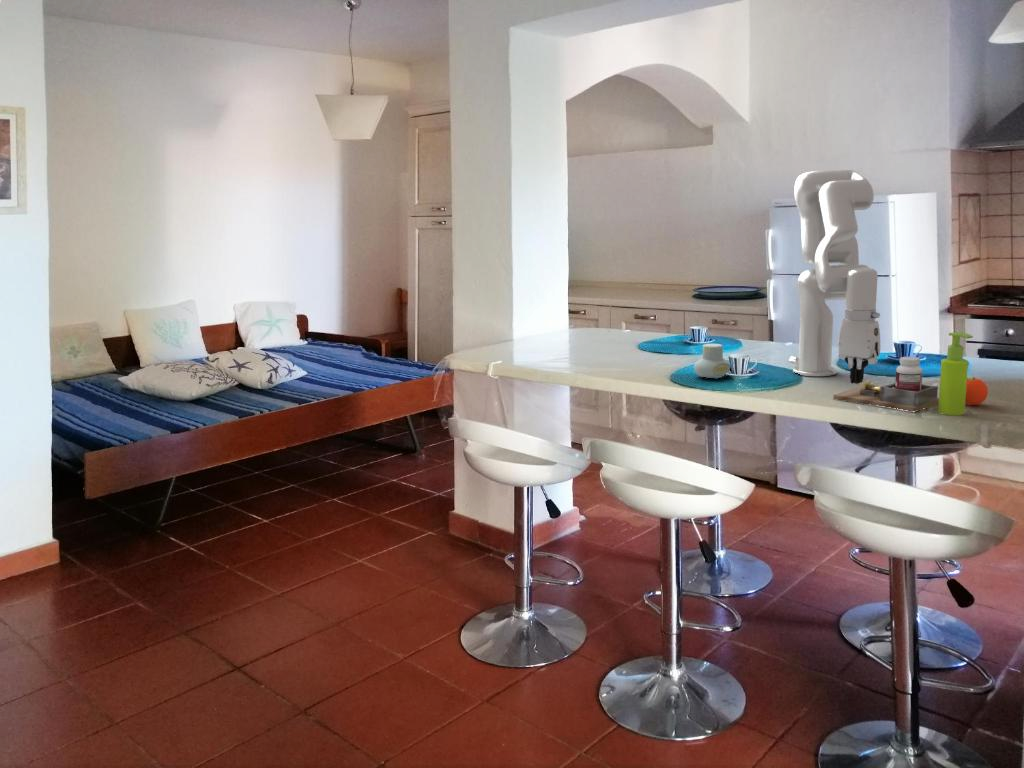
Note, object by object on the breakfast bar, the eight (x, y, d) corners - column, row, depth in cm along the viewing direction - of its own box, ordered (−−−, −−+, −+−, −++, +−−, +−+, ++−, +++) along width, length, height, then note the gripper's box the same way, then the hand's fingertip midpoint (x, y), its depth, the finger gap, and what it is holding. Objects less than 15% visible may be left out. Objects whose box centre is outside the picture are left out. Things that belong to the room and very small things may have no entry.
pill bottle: (899, 396, 236) (902, 355, 234) (924, 399, 232) (926, 357, 230) (890, 400, 232) (893, 358, 229) (915, 404, 228) (918, 361, 225)
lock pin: (860, 393, 240) (861, 382, 240) (866, 391, 242) (866, 380, 242) (893, 398, 233) (894, 387, 233) (899, 396, 235) (899, 385, 235)
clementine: (953, 407, 228) (955, 379, 227) (950, 401, 234) (952, 374, 233) (988, 408, 225) (990, 380, 224) (985, 402, 232) (987, 375, 230)
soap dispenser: (956, 417, 218) (961, 335, 214) (932, 411, 224) (937, 332, 220) (973, 414, 220) (979, 333, 216) (949, 408, 227) (954, 330, 222)
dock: (833, 399, 241) (834, 382, 240) (861, 390, 249) (862, 374, 248) (913, 412, 224) (914, 394, 223) (940, 403, 233) (941, 385, 232)
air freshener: (707, 382, 268) (707, 348, 266) (689, 377, 275) (689, 345, 273) (735, 377, 273) (736, 344, 271) (717, 373, 280) (717, 341, 278)
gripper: (894, 316, 235) (889, 384, 240) (842, 310, 247) (839, 376, 251) (879, 320, 231) (875, 389, 235) (826, 314, 242) (823, 380, 246)
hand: (856, 382), depth 243 cm, fingers closed
